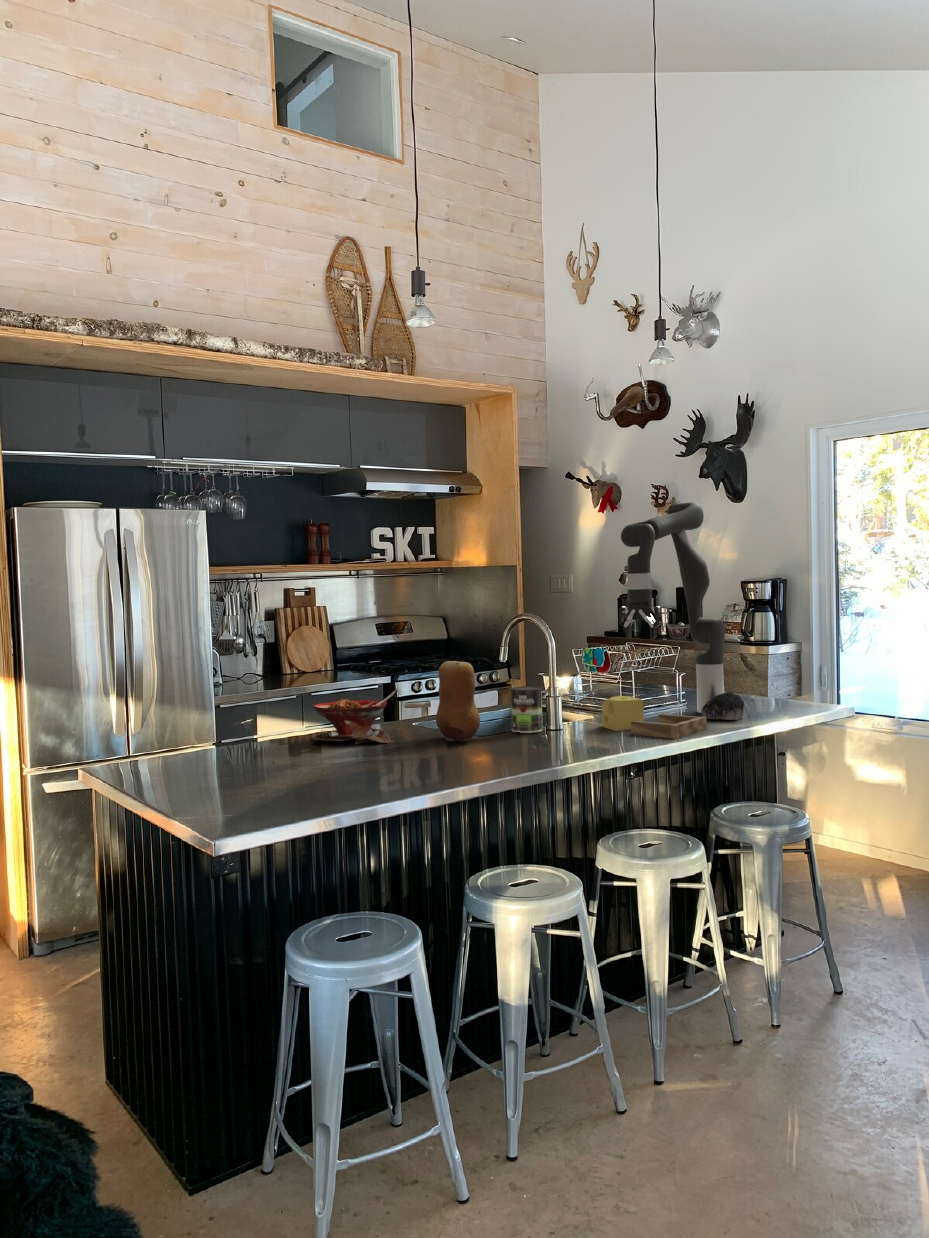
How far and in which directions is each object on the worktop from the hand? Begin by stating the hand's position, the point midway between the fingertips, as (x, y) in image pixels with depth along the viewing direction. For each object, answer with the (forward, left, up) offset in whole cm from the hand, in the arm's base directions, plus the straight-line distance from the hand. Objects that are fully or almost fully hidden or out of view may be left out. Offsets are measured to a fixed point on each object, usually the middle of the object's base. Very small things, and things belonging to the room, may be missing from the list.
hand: (640, 639), depth 301 cm
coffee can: (+15, -35, -30) cm, 48 cm away
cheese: (-5, -11, -30) cm, 32 cm away
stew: (+59, -70, -30) cm, 96 cm away
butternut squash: (+40, -43, -30) cm, 66 cm away
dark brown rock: (-34, +10, -30) cm, 46 cm away
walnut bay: (-5, +6, -30) cm, 31 cm away
